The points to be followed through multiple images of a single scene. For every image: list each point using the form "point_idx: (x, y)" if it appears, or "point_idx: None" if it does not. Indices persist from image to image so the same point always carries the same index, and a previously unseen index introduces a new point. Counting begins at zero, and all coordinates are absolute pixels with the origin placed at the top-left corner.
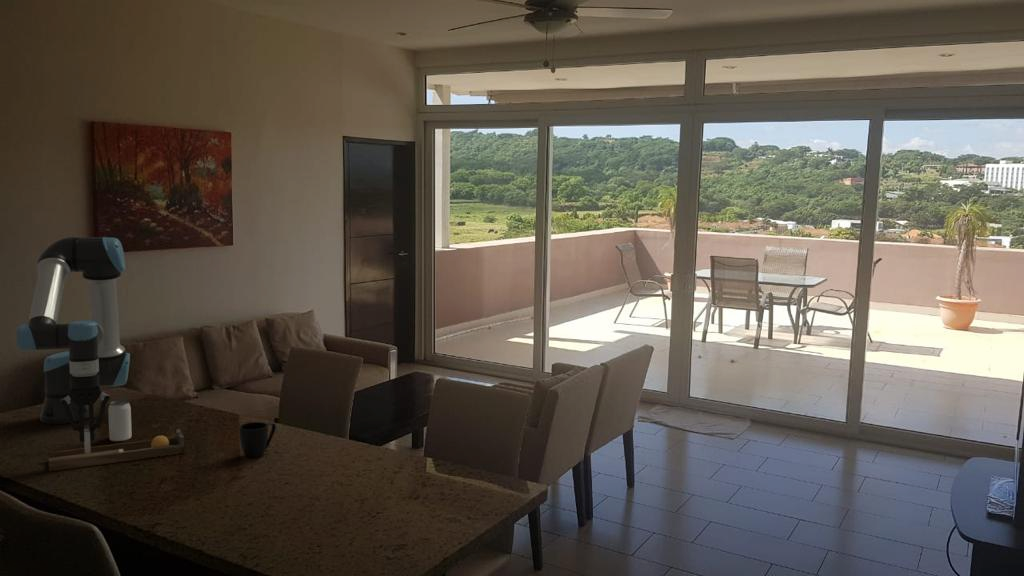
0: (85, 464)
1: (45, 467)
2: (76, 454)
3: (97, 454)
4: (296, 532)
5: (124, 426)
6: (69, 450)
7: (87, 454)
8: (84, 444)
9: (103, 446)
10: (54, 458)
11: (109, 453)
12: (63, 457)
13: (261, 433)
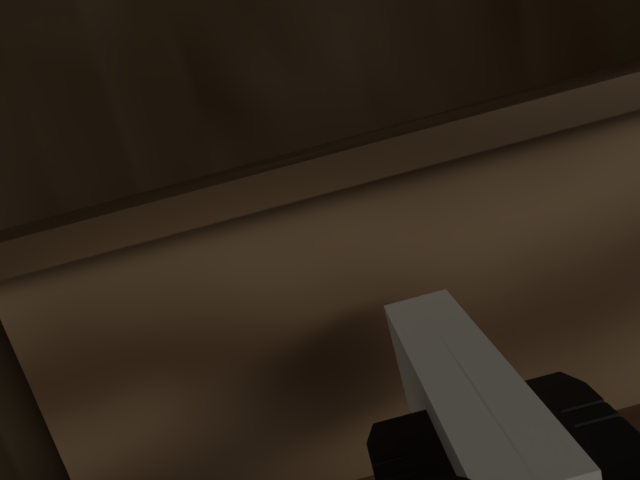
0: None
1: (43, 426)
2: (265, 209)
3: (497, 250)
4: None
5: None
6: (182, 229)
7: (389, 229)
8: (412, 383)
9: (576, 125)
10: (59, 313)
11: (619, 240)
12: (149, 291)
13: None
